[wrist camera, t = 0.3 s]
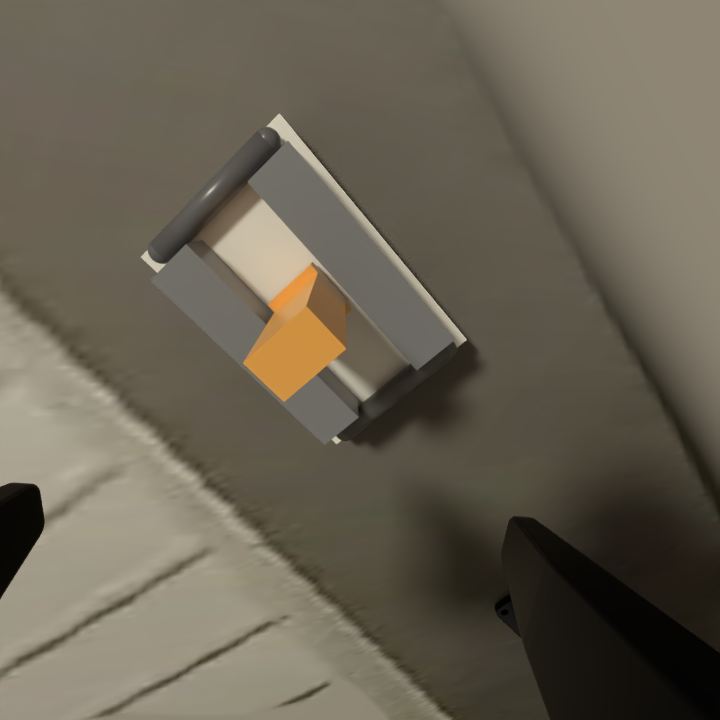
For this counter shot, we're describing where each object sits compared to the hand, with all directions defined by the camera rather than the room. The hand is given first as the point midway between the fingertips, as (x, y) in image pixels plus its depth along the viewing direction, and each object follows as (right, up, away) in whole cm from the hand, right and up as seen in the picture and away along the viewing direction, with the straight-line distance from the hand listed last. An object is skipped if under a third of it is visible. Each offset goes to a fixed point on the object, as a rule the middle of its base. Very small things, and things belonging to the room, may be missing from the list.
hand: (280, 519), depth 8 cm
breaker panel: (-1, +6, +12) cm, 13 cm away
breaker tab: (-1, +6, +10) cm, 12 cm away
